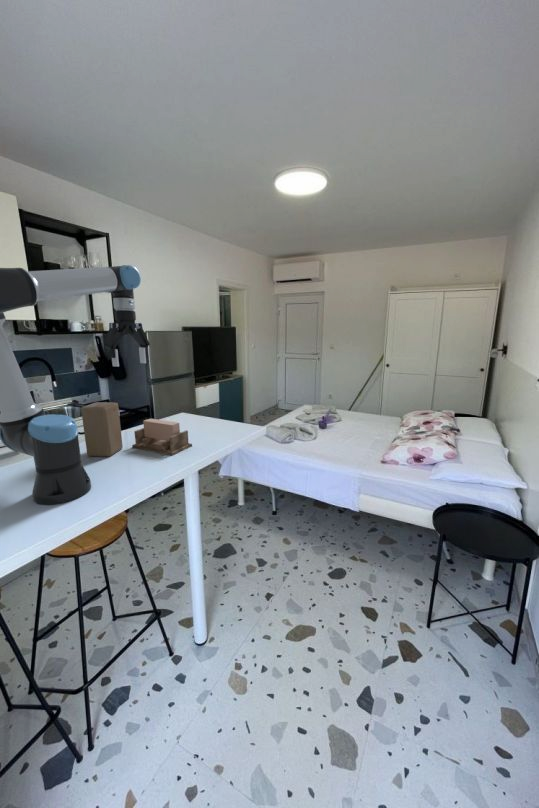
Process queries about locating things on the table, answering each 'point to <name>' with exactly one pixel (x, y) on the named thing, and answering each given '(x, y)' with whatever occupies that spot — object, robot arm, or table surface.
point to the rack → (162, 443)
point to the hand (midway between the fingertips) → (130, 364)
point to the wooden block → (102, 428)
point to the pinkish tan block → (160, 429)
